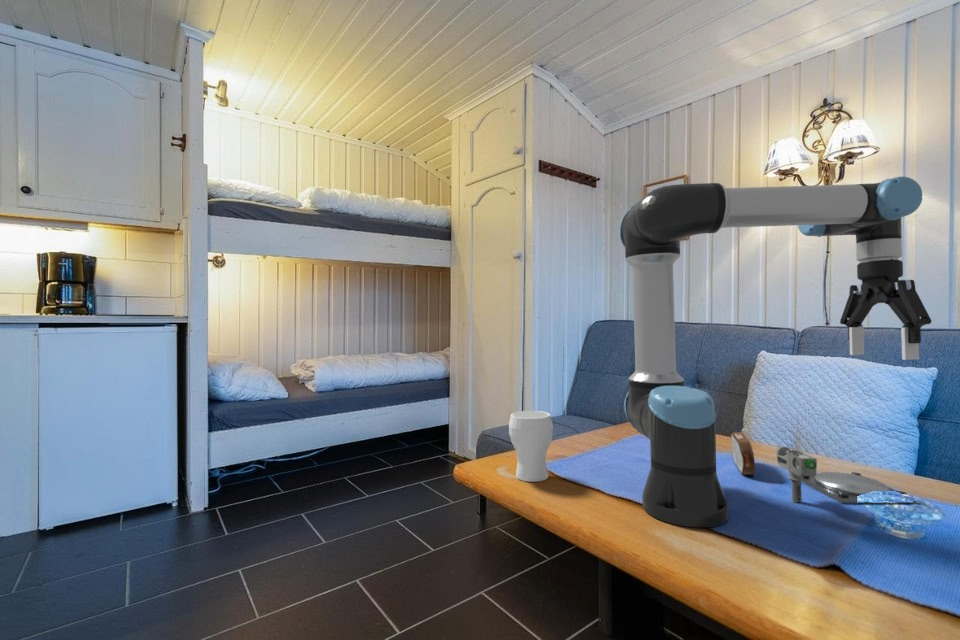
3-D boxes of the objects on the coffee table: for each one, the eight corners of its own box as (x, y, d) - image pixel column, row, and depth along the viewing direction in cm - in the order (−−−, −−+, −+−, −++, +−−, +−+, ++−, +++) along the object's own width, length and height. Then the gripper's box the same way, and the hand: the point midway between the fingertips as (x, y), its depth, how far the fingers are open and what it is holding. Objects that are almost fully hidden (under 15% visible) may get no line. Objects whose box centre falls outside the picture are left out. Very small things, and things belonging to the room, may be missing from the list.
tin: (756, 480, 102) (755, 443, 102) (741, 479, 103) (740, 442, 103) (743, 461, 116) (742, 428, 116) (730, 460, 117) (729, 428, 117)
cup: (560, 473, 109) (559, 412, 109) (543, 487, 100) (541, 420, 100) (522, 467, 115) (521, 408, 115) (502, 479, 106) (500, 416, 106)
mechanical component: (789, 492, 94) (788, 445, 94) (821, 512, 84) (820, 459, 84) (774, 492, 95) (773, 445, 95) (805, 512, 85) (803, 459, 85)
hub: (841, 503, 88) (841, 494, 88) (794, 478, 102) (794, 471, 102) (915, 503, 88) (914, 494, 88) (857, 478, 101) (857, 470, 102)
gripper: (954, 251, 85) (958, 361, 85) (851, 267, 110) (854, 352, 110) (914, 252, 86) (917, 362, 86) (820, 268, 111) (823, 353, 111)
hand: (882, 357), depth 98 cm, fingers open, 13 cm apart
